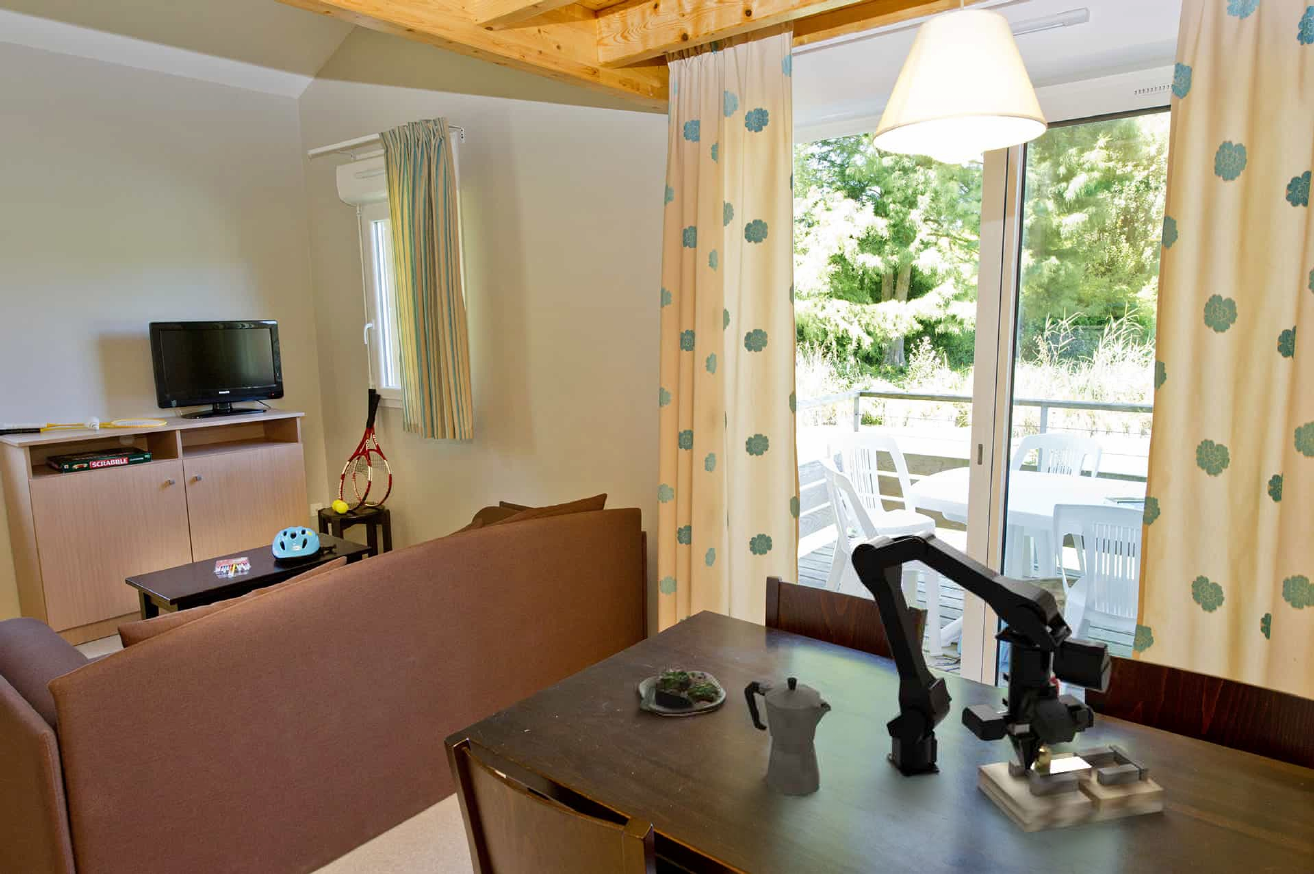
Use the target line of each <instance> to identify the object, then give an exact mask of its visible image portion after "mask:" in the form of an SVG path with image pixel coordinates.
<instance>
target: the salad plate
mask: <svg viewBox="0 0 1314 874" xmlns="http://www.w3.org/2000/svg"><path fill="white" fill-rule="evenodd" d="M692 677H696V678H698V679H703V680H704V681H708V683H709V684H706V683H703V684H695V685H694V686H692V684H693V683H692V681H693V678H692ZM638 688H639V694H640V695H641V694H642V695H641V697H642V700H641V703H640V706H639V707H640V708H641V709H642V710H646V711H649V712H651V711H653V712H657V713H661V714H686V713H692V712H702V711H709V710H713V709H716V708H718V707H719V706H720V707H721V706H722V705H723V704H724V703H725V701H726V700H727V699H726V698H727V692H726V691H725V690H724V689H723V687H722V686H721V684H719V682H718V680H716V678H715V677H714V676H713V675H712V674H709V673H707V672H705V671H697V670H696V671H695V670H693V671H692V670H691V671H686V670H684V669H680V670H673V669H672V668H668V667H666V666H664V667H660V668H659V670H658V672H657V674H656V676H652V677H649V678H646V679H645V680H643V681H642V682H641V683H640V684H639V686H638ZM661 690H664V691H665V692H664V691H661ZM685 691H687V692H688V693H687V694H688V696H687V697H686V698H685V697H682V696H681V695H680V694H681V692H685ZM643 698H644V699H643ZM700 701H707V702H710V703H711V704H709V705H707V706H705V707H702V708H697V709H695V706H694V705H695V704H696V703H699V702H700ZM720 707H719V708H720ZM719 708H718V709H719ZM716 710H717V709H716ZM653 712H652V713H653Z"/></svg>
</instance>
